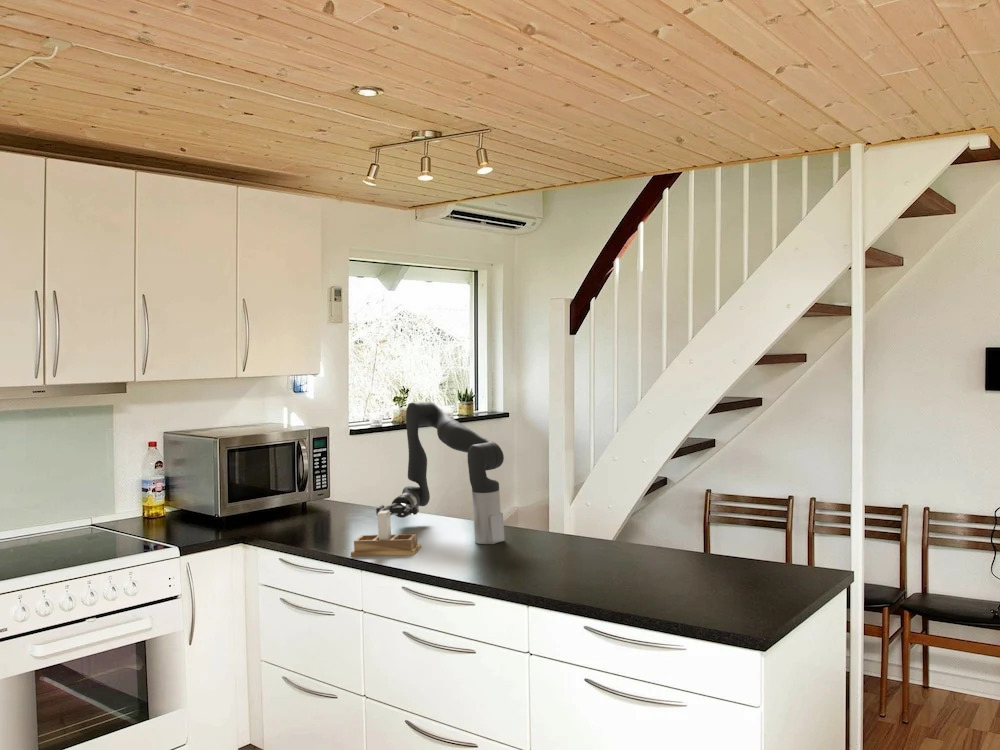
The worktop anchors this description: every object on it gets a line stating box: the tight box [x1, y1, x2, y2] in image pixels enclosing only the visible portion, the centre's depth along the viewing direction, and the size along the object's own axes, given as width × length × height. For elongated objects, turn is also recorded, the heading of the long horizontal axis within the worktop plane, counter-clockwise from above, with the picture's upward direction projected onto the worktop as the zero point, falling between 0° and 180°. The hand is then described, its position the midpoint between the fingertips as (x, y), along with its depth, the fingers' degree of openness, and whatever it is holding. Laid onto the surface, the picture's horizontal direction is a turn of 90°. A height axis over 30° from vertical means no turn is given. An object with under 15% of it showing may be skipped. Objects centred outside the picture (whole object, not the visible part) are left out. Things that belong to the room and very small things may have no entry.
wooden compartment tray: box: [350, 533, 422, 557], centre depth 283 cm, size 10×21×5 cm, turn 81°
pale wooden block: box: [376, 510, 392, 540], centre depth 283 cm, size 4×3×12 cm, turn 173°
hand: (392, 514), depth 293 cm, fingers open, 8 cm apart
